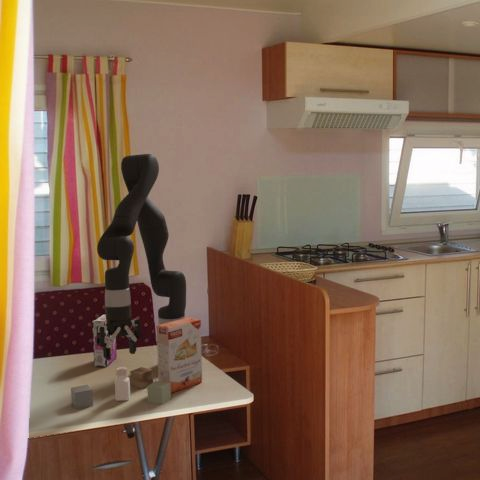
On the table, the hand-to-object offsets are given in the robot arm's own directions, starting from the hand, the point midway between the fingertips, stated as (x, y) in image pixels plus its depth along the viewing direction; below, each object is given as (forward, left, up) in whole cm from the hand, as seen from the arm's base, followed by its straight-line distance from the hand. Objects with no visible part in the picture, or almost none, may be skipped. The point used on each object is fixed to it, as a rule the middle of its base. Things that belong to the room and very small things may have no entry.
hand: (120, 356), depth 199 cm
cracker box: (-19, +4, -14) cm, 24 cm away
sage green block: (-7, +9, -13) cm, 18 cm away
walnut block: (-11, -6, -13) cm, 18 cm away
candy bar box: (-16, -36, -14) cm, 42 cm away
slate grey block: (+11, -5, -13) cm, 18 cm away
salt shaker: (0, 0, -14) cm, 14 cm away
